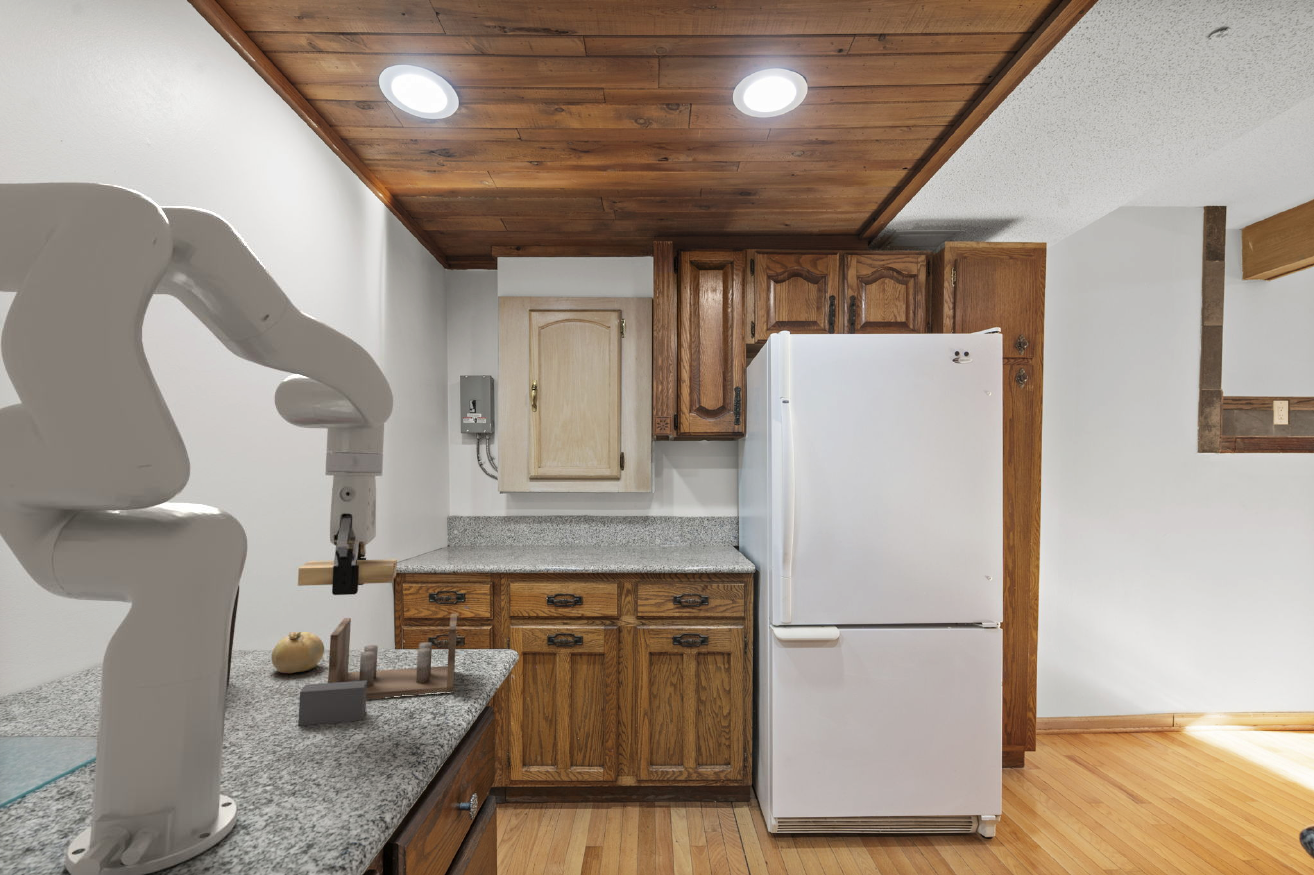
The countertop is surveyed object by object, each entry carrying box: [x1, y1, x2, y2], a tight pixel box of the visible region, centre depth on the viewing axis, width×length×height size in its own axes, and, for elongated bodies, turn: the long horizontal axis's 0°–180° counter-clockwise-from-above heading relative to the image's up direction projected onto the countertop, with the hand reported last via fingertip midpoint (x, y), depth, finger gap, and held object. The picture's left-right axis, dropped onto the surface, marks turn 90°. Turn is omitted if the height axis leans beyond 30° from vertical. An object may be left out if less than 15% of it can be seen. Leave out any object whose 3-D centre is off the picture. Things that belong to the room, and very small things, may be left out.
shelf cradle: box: [327, 613, 458, 701], centre depth 101 cm, size 11×18×10 cm, turn 107°
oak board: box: [297, 558, 398, 587], centre depth 90 cm, size 6×12×2 cm, turn 107°
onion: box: [271, 631, 326, 674], centre depth 107 cm, size 8×8×7 cm
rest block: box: [297, 680, 367, 727], centre depth 87 cm, size 3×8×4 cm, turn 107°
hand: (349, 588), depth 90 cm, fingers closed on oak board, 6 cm apart
